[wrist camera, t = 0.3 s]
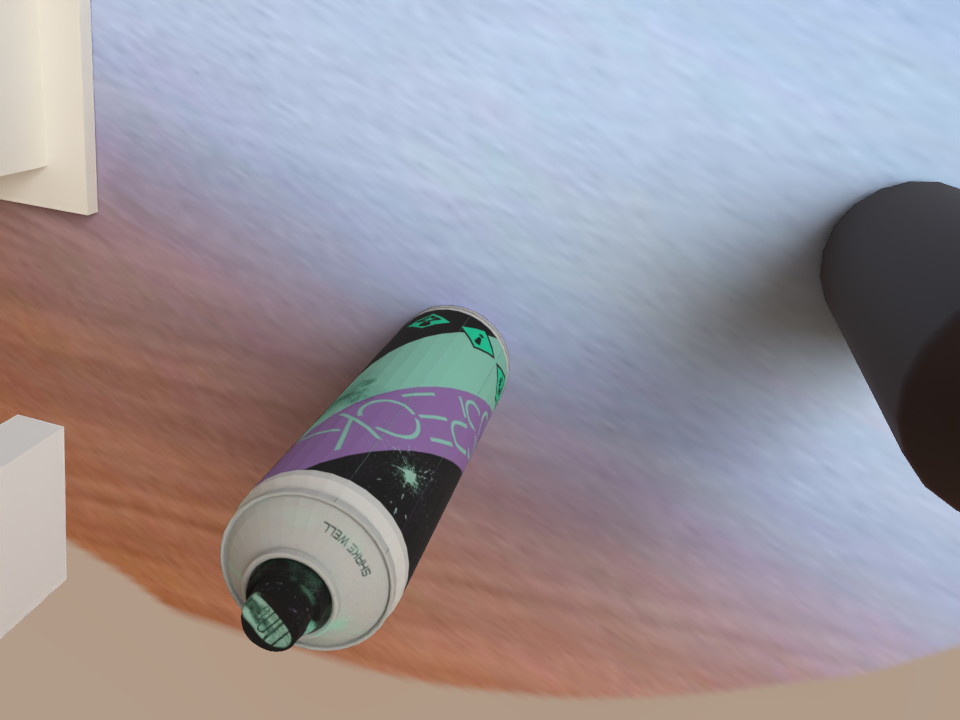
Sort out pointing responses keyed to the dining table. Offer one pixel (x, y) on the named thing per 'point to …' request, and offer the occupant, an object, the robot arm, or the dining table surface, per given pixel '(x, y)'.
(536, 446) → the dining table surface
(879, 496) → the dining table surface
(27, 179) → the socket
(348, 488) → the spray can
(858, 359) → the bottle
